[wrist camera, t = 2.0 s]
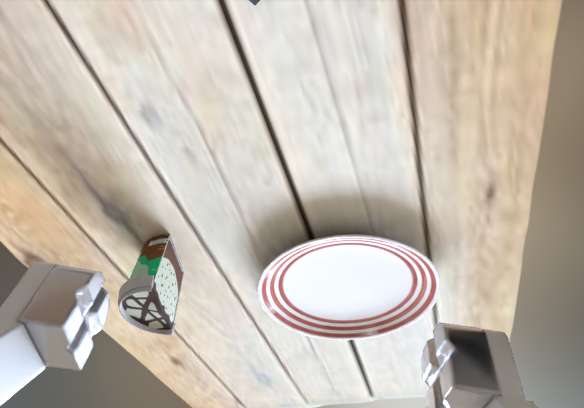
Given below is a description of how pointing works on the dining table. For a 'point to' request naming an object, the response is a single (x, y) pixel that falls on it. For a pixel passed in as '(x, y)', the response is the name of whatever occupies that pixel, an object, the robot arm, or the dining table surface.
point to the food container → (153, 288)
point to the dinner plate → (348, 287)
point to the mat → (254, 1)
